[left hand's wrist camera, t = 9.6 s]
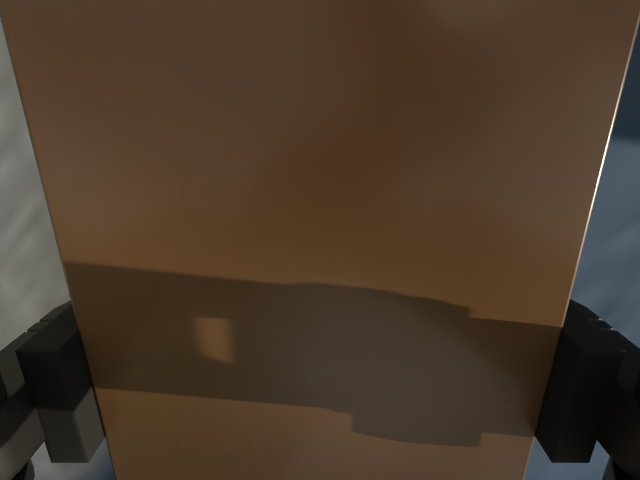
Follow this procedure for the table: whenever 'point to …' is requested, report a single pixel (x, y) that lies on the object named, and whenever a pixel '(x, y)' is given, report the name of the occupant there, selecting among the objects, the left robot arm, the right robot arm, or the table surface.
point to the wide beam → (320, 221)
